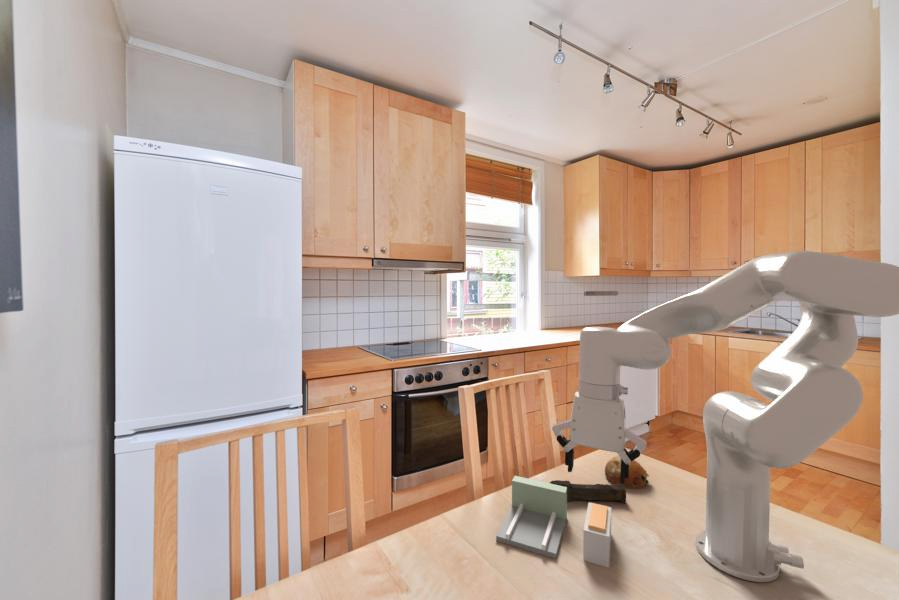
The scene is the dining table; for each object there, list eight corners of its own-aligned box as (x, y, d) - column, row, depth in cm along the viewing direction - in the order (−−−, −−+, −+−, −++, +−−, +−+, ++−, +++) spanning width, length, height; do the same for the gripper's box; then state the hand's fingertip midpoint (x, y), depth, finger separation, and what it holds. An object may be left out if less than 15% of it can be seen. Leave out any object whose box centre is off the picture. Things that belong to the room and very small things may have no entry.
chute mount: (566, 517, 84) (567, 487, 83) (556, 558, 71) (556, 523, 71) (514, 504, 89) (514, 475, 89) (496, 540, 76) (496, 507, 76)
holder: (611, 535, 78) (611, 504, 78) (608, 568, 69) (609, 533, 69) (588, 529, 80) (588, 499, 80) (583, 560, 71) (583, 526, 71)
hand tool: (621, 496, 92) (621, 478, 92) (627, 505, 88) (627, 486, 88) (543, 493, 94) (543, 475, 94) (546, 502, 90) (546, 483, 90)
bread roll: (623, 481, 106) (611, 452, 108) (658, 479, 99) (645, 448, 101) (605, 494, 100) (593, 463, 102) (641, 492, 92) (628, 459, 95)
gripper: (647, 391, 73) (643, 476, 74) (556, 380, 80) (554, 457, 81) (649, 401, 66) (645, 495, 67) (550, 388, 74) (548, 473, 74)
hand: (595, 474), depth 74 cm, fingers open, 9 cm apart
